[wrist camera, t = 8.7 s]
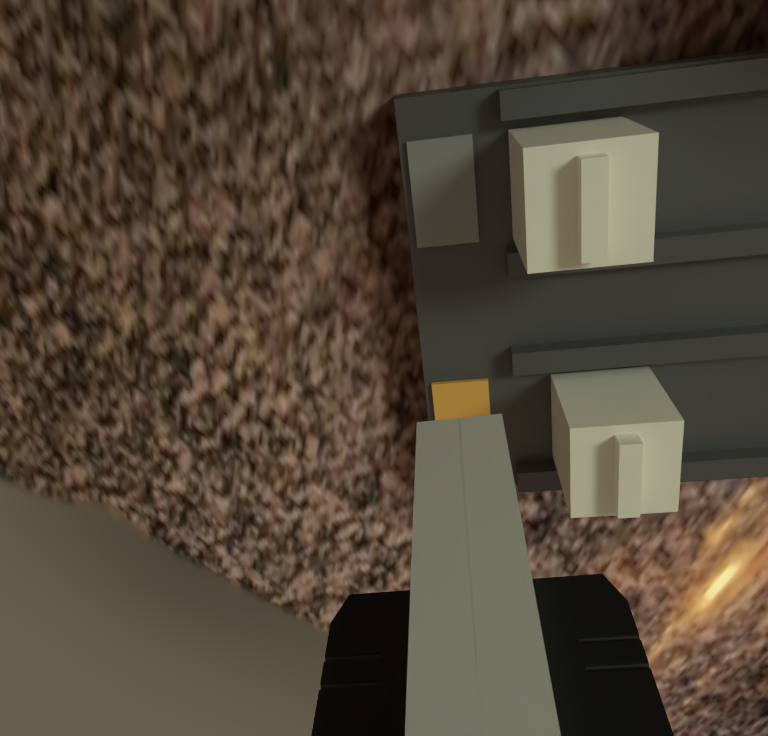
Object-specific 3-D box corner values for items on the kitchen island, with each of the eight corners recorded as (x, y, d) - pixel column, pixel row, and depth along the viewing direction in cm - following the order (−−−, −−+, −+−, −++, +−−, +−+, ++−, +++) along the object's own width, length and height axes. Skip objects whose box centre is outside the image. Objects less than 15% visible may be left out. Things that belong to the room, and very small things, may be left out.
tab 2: (550, 374, 29) (573, 438, 25) (648, 366, 29) (690, 430, 24) (552, 454, 31) (574, 529, 26) (645, 448, 31) (684, 523, 26)
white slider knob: (508, 129, 25) (525, 151, 21) (621, 116, 25) (666, 135, 20) (512, 237, 27) (530, 280, 22) (619, 226, 27) (659, 268, 22)
